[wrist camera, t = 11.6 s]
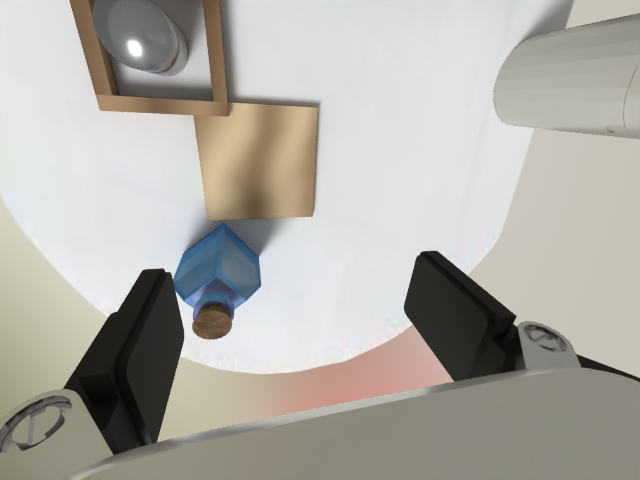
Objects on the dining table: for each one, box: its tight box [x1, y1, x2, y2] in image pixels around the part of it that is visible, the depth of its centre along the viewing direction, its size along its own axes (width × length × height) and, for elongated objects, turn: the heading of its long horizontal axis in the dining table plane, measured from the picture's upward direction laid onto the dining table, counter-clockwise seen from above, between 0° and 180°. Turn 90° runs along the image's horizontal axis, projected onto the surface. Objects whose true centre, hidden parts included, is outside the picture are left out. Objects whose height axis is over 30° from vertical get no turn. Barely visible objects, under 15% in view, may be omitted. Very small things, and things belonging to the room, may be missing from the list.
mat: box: [193, 100, 318, 220], centre depth 29 cm, size 12×12×1 cm
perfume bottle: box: [173, 223, 261, 340], centre depth 28 cm, size 6×6×12 cm
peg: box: [93, 0, 188, 76], centre depth 21 cm, size 4×4×6 cm
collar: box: [70, 0, 229, 117], centre depth 23 cm, size 10×10×2 cm
